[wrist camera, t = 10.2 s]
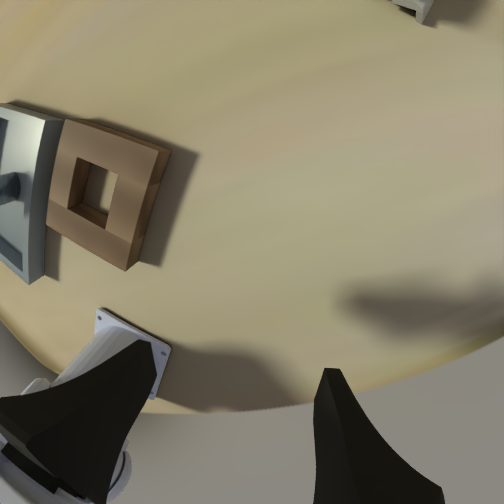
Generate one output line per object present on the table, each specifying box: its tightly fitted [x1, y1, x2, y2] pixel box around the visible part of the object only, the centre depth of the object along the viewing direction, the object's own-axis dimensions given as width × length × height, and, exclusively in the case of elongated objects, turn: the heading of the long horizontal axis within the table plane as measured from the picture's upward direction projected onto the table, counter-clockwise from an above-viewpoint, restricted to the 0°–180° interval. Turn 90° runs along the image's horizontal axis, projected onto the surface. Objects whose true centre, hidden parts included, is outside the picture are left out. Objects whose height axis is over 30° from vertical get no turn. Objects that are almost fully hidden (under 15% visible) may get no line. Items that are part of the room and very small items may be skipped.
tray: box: [0, 103, 65, 285], centre depth 19 cm, size 16×12×2 cm
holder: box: [46, 119, 171, 271], centre depth 18 cm, size 9×9×2 cm
